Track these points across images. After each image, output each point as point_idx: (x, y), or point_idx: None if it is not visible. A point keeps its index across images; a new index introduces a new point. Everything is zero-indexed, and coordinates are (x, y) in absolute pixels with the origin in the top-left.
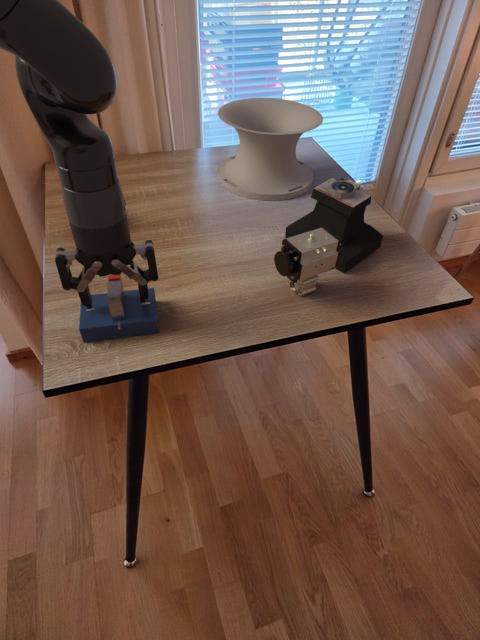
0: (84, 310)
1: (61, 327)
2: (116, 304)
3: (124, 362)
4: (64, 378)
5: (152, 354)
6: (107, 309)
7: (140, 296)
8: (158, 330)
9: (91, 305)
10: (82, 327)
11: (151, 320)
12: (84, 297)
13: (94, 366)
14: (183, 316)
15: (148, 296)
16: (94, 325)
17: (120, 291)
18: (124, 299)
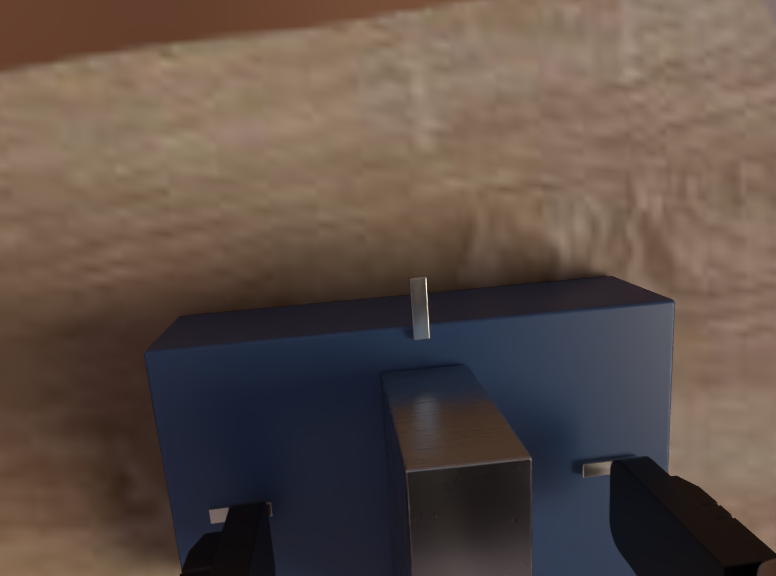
0: None
1: (723, 397)
2: (445, 435)
3: (380, 92)
4: (703, 14)
5: (213, 137)
6: None
7: (250, 542)
8: (179, 320)
9: (621, 479)
10: (654, 315)
11: (191, 346)
12: (713, 520)
13: (548, 84)
14: (35, 441)
15: (191, 549)
16: (580, 327)
17: (414, 573)
18: (393, 551)
